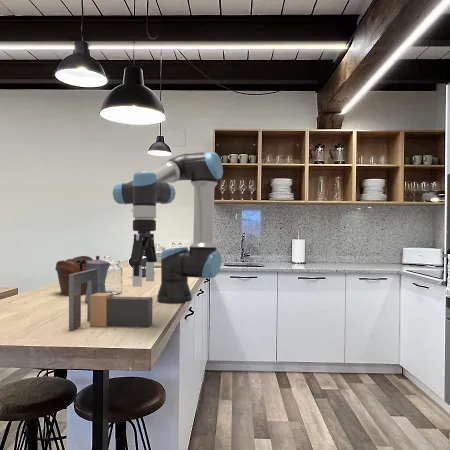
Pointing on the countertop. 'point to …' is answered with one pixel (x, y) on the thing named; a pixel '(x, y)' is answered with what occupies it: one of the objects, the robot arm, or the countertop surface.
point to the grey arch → (75, 295)
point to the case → (70, 272)
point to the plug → (120, 311)
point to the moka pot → (102, 272)
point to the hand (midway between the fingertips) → (143, 283)
